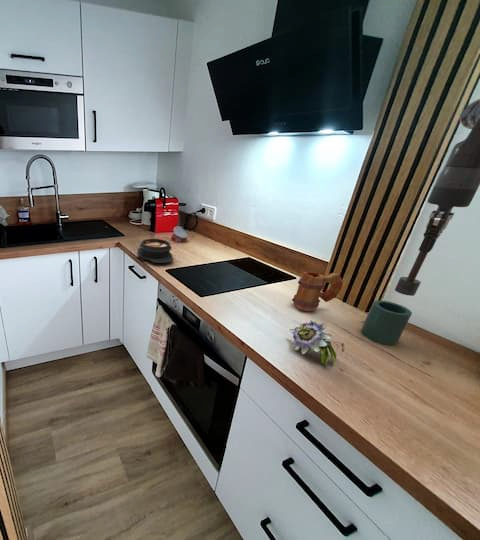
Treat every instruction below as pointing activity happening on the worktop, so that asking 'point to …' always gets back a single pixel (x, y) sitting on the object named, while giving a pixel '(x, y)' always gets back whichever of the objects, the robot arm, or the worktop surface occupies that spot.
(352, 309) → the worktop surface
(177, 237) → the canned food
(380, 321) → the green pencil cup
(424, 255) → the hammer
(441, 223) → the robot arm
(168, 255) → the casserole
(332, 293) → the mug
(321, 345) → the passion flower
